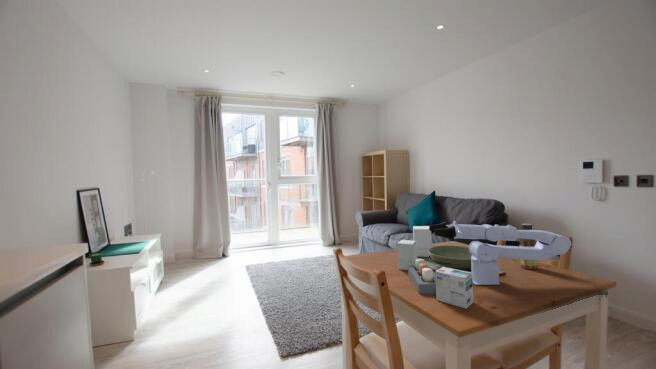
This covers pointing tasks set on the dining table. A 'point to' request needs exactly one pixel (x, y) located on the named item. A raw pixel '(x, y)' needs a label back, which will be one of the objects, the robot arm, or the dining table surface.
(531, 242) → the sauce bottle
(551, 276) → the dining table surface
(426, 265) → the plug rust
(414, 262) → the supplement box
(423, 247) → the supplement box
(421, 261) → the plug sage
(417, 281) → the socket board
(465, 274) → the light bulb box
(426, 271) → the plug cream
